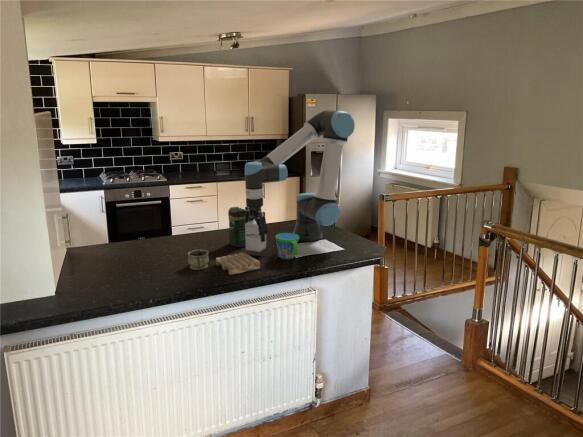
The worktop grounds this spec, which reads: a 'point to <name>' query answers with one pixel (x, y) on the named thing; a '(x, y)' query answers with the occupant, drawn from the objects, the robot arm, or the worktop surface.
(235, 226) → the coffee jar
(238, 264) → the pallet
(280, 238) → the snack cup
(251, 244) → the supplement box
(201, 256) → the vessel
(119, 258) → the worktop surface
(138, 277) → the worktop surface
